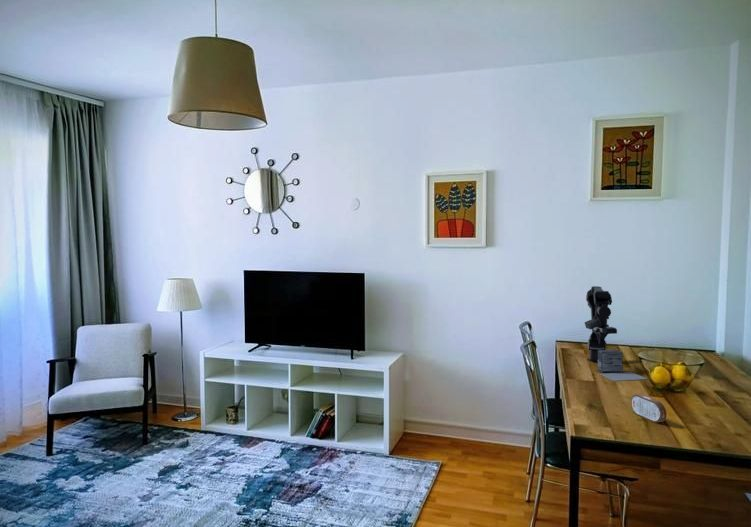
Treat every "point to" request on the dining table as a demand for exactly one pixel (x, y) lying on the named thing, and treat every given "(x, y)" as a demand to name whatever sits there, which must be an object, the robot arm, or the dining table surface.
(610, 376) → the mat
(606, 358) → the small box
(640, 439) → the dining table surface
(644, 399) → the tin
